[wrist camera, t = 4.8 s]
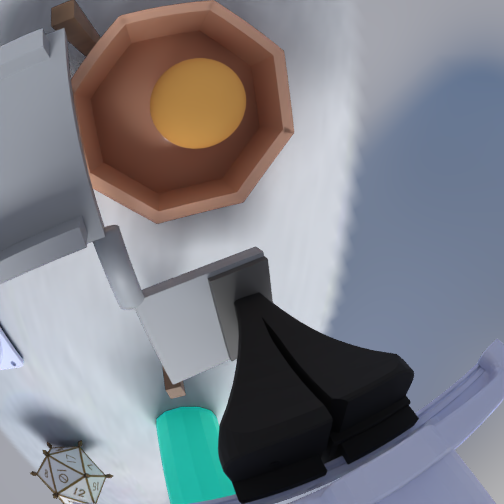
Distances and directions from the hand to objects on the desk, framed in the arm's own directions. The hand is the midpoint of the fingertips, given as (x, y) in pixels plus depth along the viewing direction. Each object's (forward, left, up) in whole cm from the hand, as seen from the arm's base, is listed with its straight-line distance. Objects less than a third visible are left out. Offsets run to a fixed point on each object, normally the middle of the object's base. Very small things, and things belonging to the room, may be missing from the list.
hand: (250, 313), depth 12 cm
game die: (-22, -18, -6) cm, 29 cm away
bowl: (-1, +9, -6) cm, 10 cm away
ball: (0, +9, -3) cm, 9 cm away
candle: (-7, -16, -6) cm, 19 cm away
